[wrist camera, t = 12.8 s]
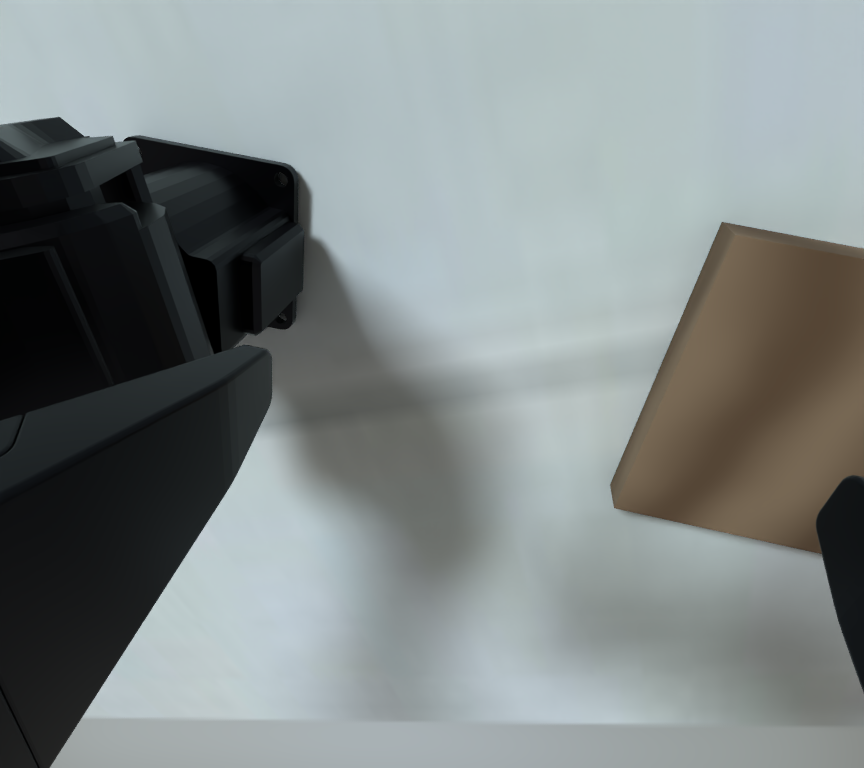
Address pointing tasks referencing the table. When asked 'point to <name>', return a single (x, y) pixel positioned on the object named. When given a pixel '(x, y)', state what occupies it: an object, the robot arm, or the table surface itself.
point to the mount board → (755, 392)
